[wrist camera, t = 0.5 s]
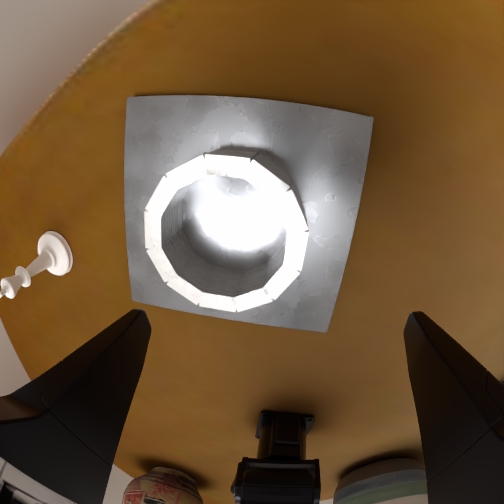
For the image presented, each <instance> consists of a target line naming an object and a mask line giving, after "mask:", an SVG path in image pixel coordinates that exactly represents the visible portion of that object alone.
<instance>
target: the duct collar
mask: <svg viewBox="0 0 504 504" xmlns="http://www.w3.org/2000/svg"><path fill="white" fill-rule="evenodd" d="M373 120H374V117H369V116H365V115H360V114H356V113H351V112H346V111H341V110H336V109H330V108H325V107H319V106H312V105H306V104H299V103H292V102H284V101H275V100H266V99H255V98H243V97H227V96H201V95H164V96H138V97H127V108H126V125H125V153H124V193H125V222H126V239H127V253H128V265H129V275H130V285H131V293H132V301H136V302H140V303H145V304H150V305H154V306H159V307H164V308H169V309H174V310H179V311H184V312H190V313H195V314H201V315H206V316H212V317H218V318H224V319H230V320H236V321H242V322H249V323H255V324H262V325H269V326H276V327H284V328H292V329H300V330H308V331H317V332H326V333H327V330H328V327H329V323H330V320H331V317H332V313H333V310H334V306H335V303H336V299H337V296H338V292H339V288H340V285H341V281H342V277H343V273H344V269H345V265H346V261H347V257H348V253H349V249H350V245H351V241H352V236H353V232H354V227H355V223H356V218H357V213H358V209H359V204H360V199H361V194H362V188H363V183H364V177H365V172H366V166H367V160H368V154H369V148H370V141H371V134H372V127H373Z"/></svg>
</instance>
